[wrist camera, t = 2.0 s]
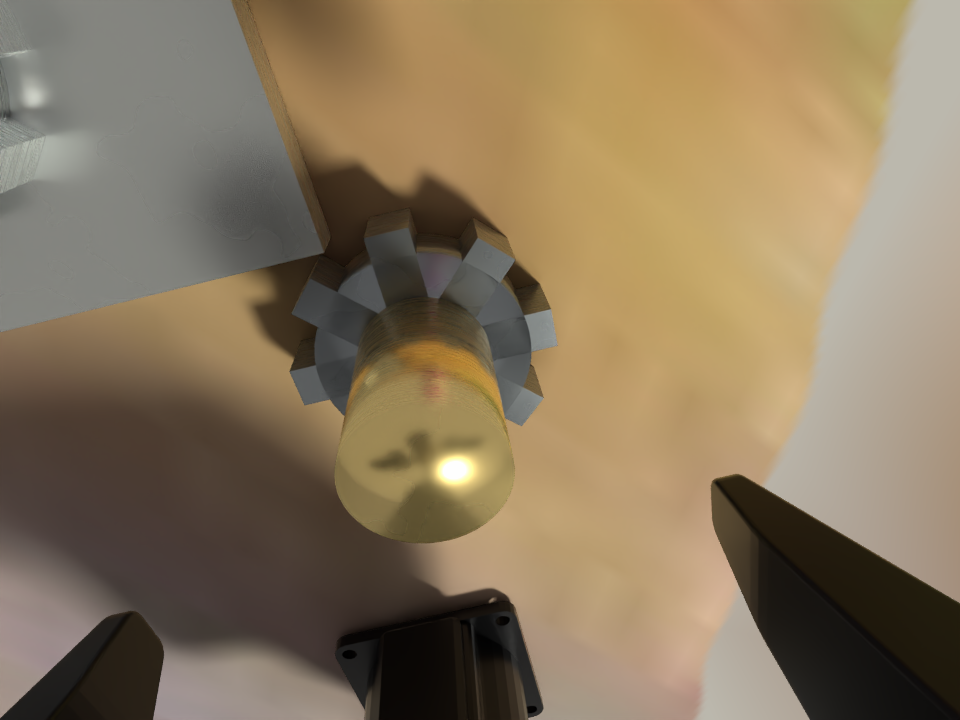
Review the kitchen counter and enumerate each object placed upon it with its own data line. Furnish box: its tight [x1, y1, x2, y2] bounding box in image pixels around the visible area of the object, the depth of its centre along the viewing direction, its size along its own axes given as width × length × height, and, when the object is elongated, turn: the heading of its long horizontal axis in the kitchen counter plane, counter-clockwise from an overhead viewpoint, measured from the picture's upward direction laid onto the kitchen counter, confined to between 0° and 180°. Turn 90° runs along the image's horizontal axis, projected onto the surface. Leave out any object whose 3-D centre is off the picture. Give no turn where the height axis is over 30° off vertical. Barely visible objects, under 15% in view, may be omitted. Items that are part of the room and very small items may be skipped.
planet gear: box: [290, 208, 558, 543], centre depth 13 cm, size 6×6×6 cm
